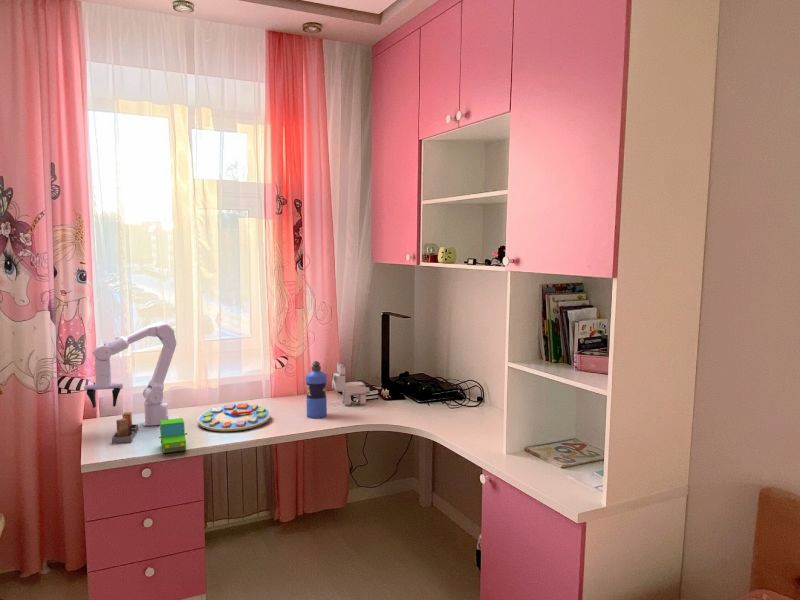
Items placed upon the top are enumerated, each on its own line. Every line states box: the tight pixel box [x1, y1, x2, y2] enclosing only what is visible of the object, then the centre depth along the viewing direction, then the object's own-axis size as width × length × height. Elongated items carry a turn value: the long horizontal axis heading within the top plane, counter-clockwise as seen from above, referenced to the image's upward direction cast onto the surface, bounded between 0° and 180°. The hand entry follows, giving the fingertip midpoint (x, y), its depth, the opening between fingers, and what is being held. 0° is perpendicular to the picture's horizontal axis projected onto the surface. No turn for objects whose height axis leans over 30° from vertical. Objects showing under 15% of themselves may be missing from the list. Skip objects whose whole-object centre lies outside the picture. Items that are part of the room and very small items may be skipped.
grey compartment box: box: [111, 411, 139, 445], centre depth 246 cm, size 7×17×8 cm, turn 14°
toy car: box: [158, 417, 188, 455], centre depth 230 cm, size 10×13×10 cm
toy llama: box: [331, 362, 371, 407], centre depth 296 cm, size 8×18×20 cm, turn 106°
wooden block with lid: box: [116, 417, 128, 437], centre depth 241 cm, size 3×3×7 cm
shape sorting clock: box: [197, 402, 271, 432], centre depth 266 cm, size 31×30×6 cm
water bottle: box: [305, 360, 328, 420], centre depth 275 cm, size 9×9×25 cm
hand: (104, 406), depth 252 cm, fingers open, 7 cm apart
